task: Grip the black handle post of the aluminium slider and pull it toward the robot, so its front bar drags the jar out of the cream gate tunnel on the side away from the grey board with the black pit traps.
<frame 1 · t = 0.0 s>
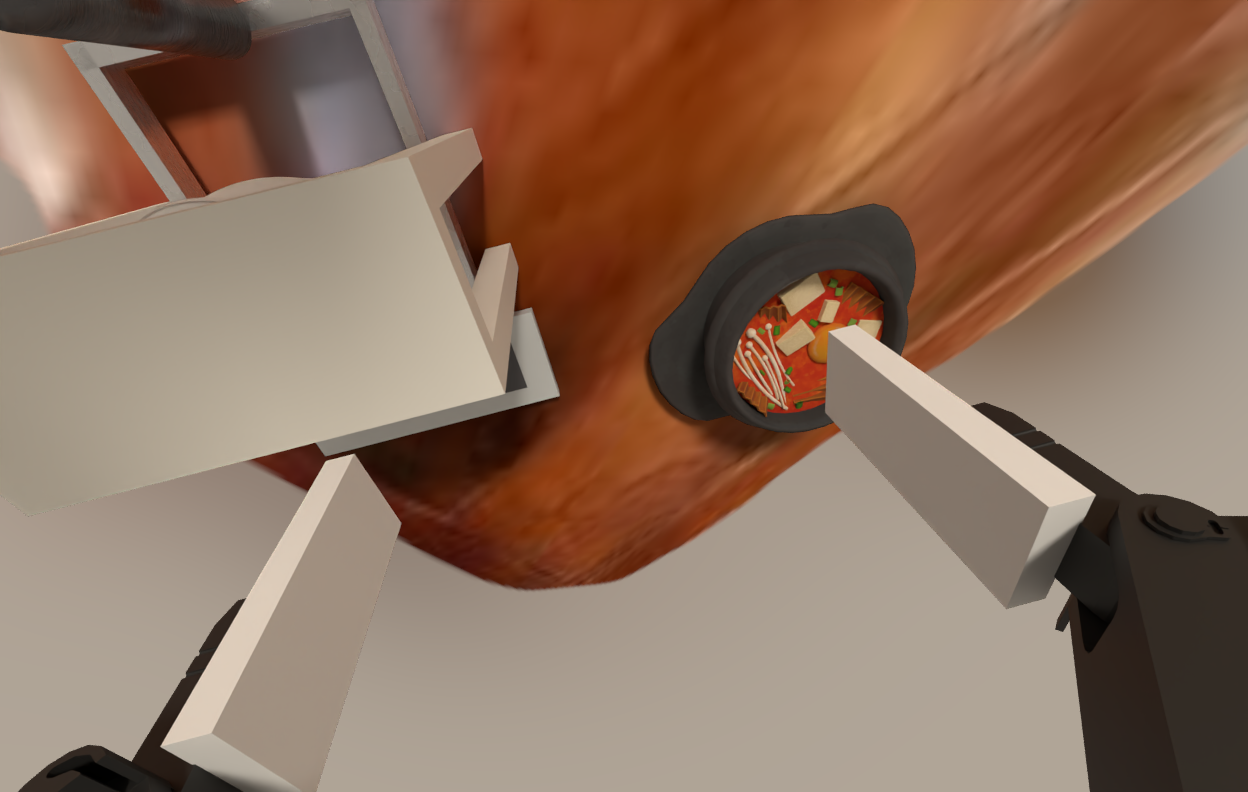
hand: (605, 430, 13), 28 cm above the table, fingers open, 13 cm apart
jar: (353, 238, 35), resting in sled
sled: (268, 211, 26), point 8 cm above the table, slide at 0.0 cm
tunnel: (352, 238, 35), on the table
casserole: (771, 314, 44), on the table
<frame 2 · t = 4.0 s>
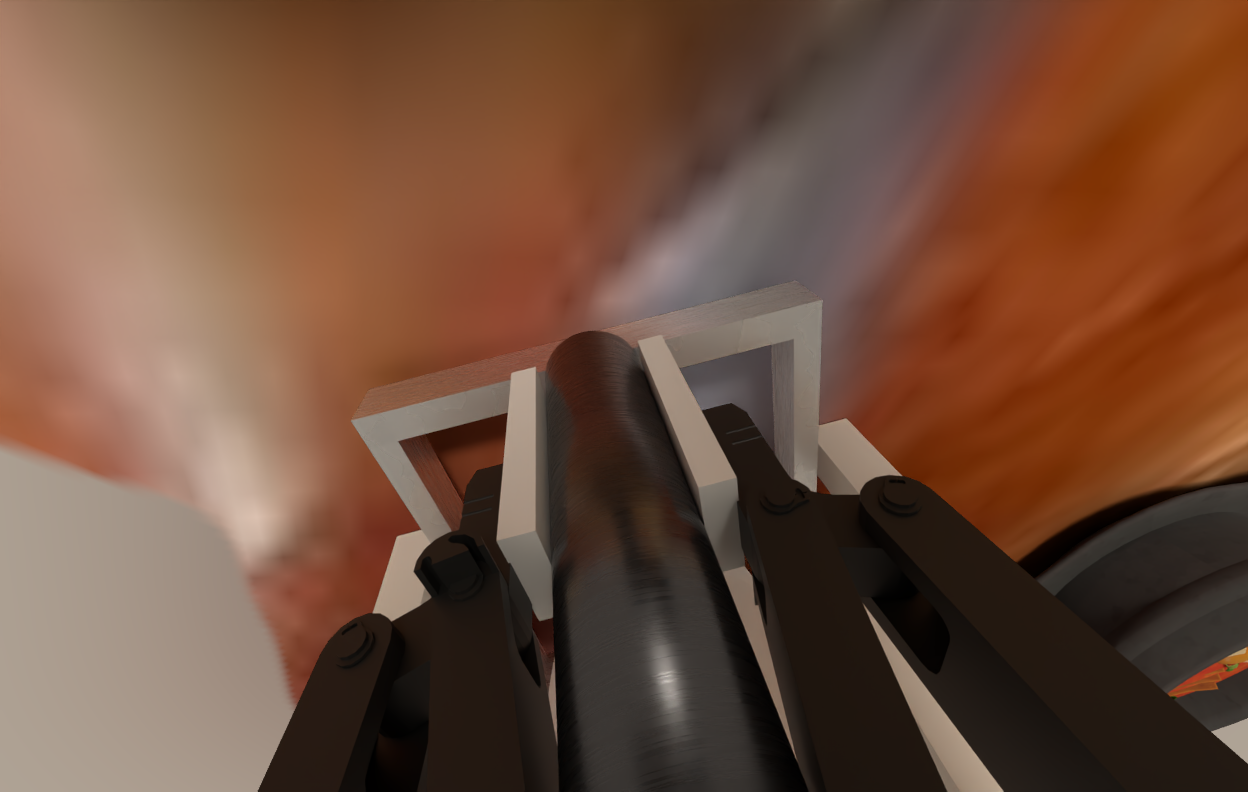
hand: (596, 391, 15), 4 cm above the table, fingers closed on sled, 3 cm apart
jar: (641, 541, 26), resting in sled
sled: (670, 671, 16), point 9 cm above the table, slide at 0.0 cm, touching gripper
tunnel: (642, 544, 25), on the table
casserole: (1106, 560, 34), on the table
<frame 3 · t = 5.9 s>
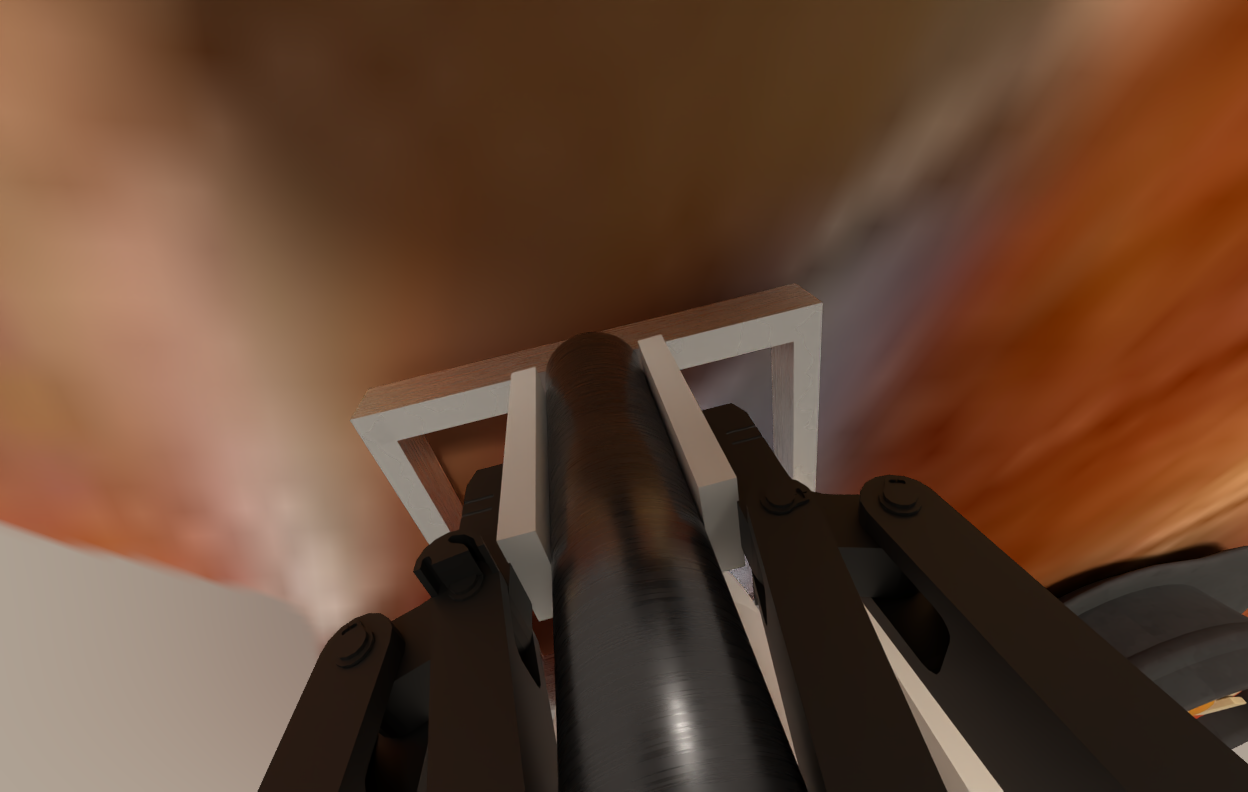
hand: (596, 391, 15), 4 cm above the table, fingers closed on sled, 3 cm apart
jar: (643, 560, 26), resting in sled
sled: (668, 673, 16), point 8 cm above the table, slide at 6.8 cm, touching gripper
tunnel: (660, 618, 29), on the table
casserole: (1072, 617, 38), on the table
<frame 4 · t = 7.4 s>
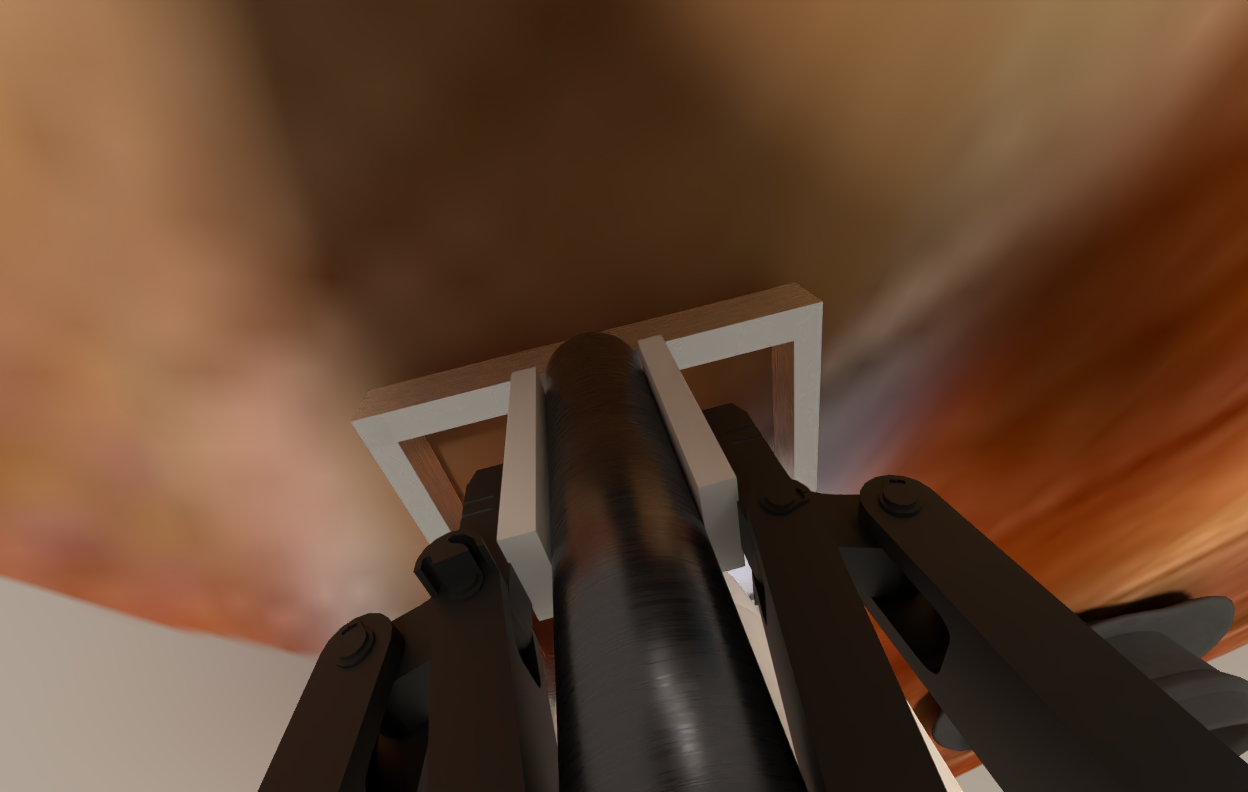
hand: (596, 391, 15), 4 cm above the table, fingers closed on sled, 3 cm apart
jar: (643, 561, 26), resting in sled
sled: (670, 673, 16), point 9 cm above the table, slide at 12.9 cm, touching gripper, jar
tunnel: (675, 668, 32), on the table
casserole: (1052, 655, 42), on the table
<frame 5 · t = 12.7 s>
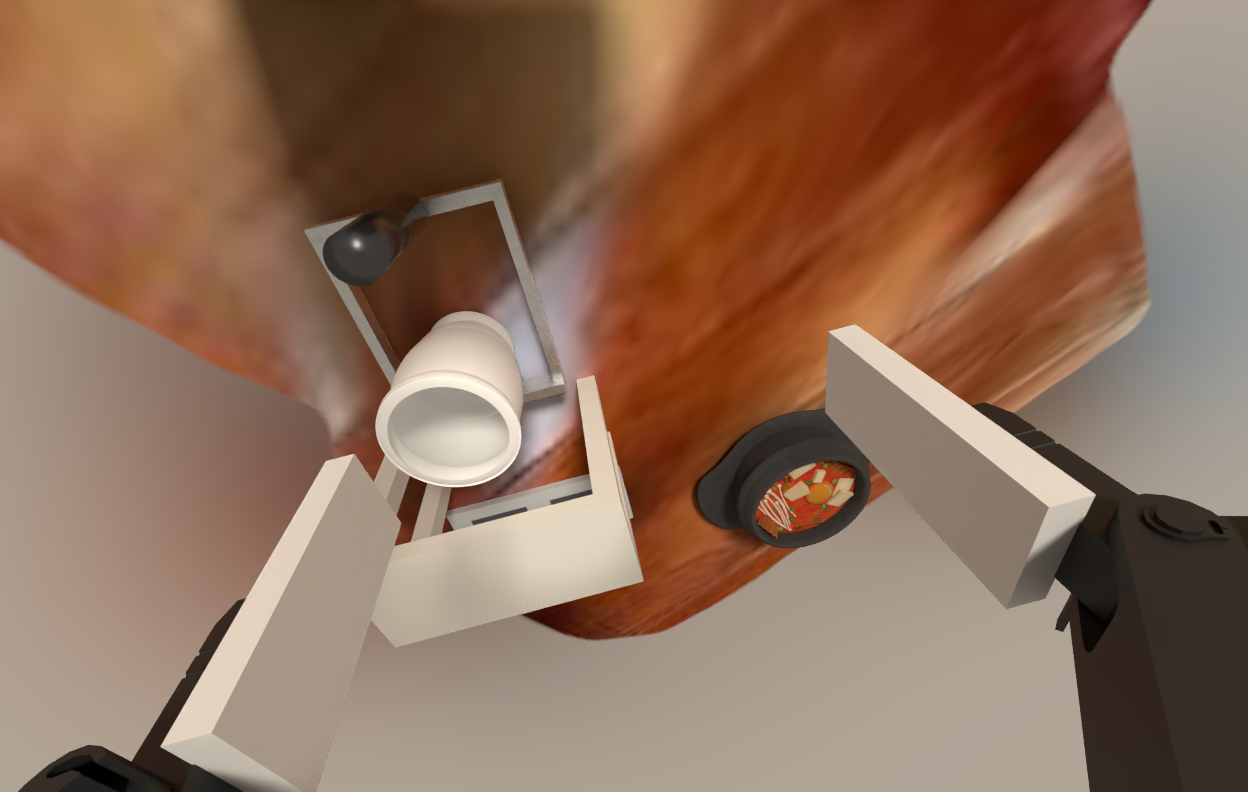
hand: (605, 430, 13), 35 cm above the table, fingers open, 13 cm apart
jar: (472, 347, 49), resting in sled
sled: (439, 339, 38), point 8 cm above the table, slide at 13.0 cm, touching jar
tunnel: (511, 435, 55), on the table
casserole: (780, 460, 64), on the table
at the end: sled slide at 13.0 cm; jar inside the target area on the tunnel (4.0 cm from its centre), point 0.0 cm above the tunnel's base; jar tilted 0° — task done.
